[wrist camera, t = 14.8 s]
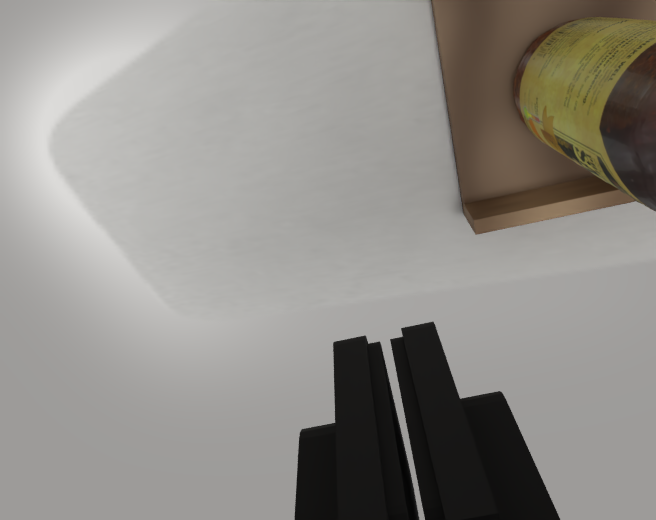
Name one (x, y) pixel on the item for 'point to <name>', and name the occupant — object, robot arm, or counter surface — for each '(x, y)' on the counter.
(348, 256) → the counter surface
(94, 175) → the counter surface
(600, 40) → the sauce bottle
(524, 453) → the robot arm
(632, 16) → the tray
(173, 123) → the counter surface
